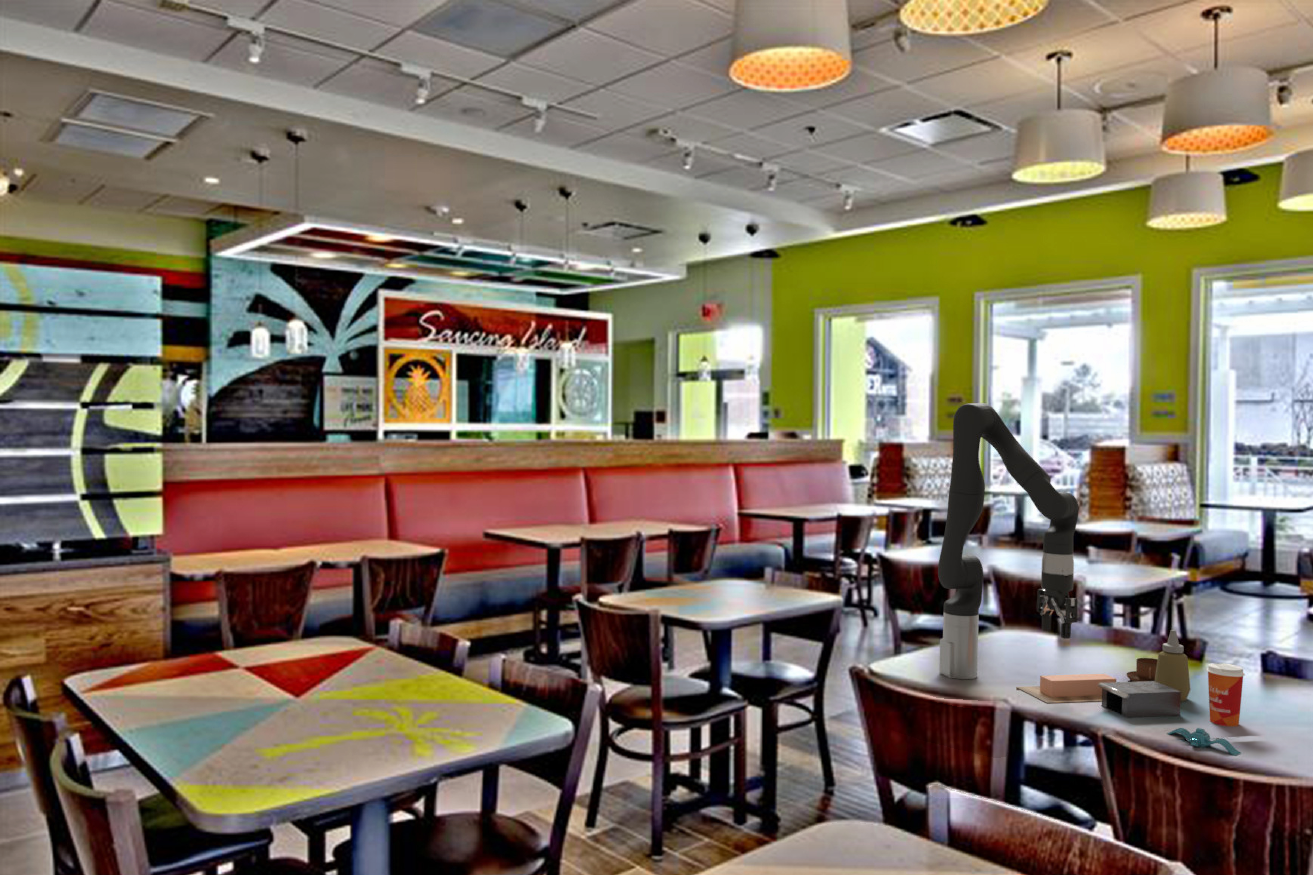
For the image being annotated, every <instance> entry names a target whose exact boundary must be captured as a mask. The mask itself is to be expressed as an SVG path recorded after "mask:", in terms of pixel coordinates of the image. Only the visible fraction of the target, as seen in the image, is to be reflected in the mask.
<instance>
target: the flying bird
mask: <svg viewBox="0 0 1313 875" xmlns="http://www.w3.org/2000/svg"><path fill="white" fill-rule="evenodd" d="M1175 733H1176V734H1177V733H1178V734H1180V735H1181V736H1183V737H1184V738H1185V739H1186V740H1187V741H1188V742H1189V743H1190V746H1195V747H1199V748H1204V749H1205V748H1207V747H1209V746H1211V745H1214V744H1219V745H1221V746H1222V747H1224V748H1225V750H1227V752H1229V754H1230V755H1231V756H1239V755H1240V754H1242V752H1241V751H1239V750H1238V749H1237V748H1235V746H1234V745H1233V744H1232V743H1231V742H1230V741H1228V740H1227V739H1225V738H1217V739H1213V740H1211V735H1210V734H1209V733H1208V732H1207V731H1206V730H1205V728H1200V727H1197V728H1196V729H1195V731H1193V732H1190V731H1189V730H1188V729H1186V728H1184V727H1178V728H1176V729H1173V730H1172V731H1169V732H1167V733H1166V735H1169V736H1171V735H1173V734H1175Z"/></svg>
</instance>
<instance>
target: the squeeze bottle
mask: <svg viewBox="0 0 1313 875" xmlns="http://www.w3.org/2000/svg"><path fill="white" fill-rule="evenodd" d="M1184 648H1185V647H1184V645H1182V644H1180V642H1179V639H1178V634H1177V630H1175V629H1171V630H1170V632H1169V636H1168V639H1167V642H1165V643H1162V651H1160V652H1159V653H1157V654H1158V656H1157V659H1158V661H1157V668H1156V675H1155V682H1157V683H1160V684H1162V685H1165V686H1167V687H1170V688H1173V689H1175V690H1178V691H1180V692H1181V700H1180V702H1185V701H1187V699H1188V697H1189V694H1190V692H1191V683H1190V682H1191V681H1190V680H1191V679H1190V672H1189V671H1190V670H1189V659H1188V656H1187V655H1186V654H1185V653H1184Z"/></svg>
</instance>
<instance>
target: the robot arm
mask: <svg viewBox="0 0 1313 875" xmlns="http://www.w3.org/2000/svg"><path fill="white" fill-rule="evenodd" d="M952 431H953V432H952V433H953V434H952V439H953V440H952V441H953V442H952V445H953V448H952V452H953V453H952V462H951V474H950V481H949V482H950V484H949V488H948V498H947V500H948V501H947V512H946V520H945V527H944V528H945V529H944V536H943V541H942V545H941V550H940V553H939V558H938V566H937V575H938V576H937V577H938V580H939V583H940V585H941V586H942V587H943V588H944V589H947V590H956V592H955V594H954V595H953V596H952V597H950V598H949V599H947V600H945V601H944V603H943V624H942V625H943V628H942V638H940V639H939V673H940V674H941V675H943V676H946V677H947V678H948V679H959V680H960V679H961V680H971V679H976V678H977V677H978V670H979V669H978V667H979V666H978V665H979V664H978V663H979V661H978V660H979V658H978V655H979V653H978V652H979V620H980V619H979V615H980V614H979V613H980V607H981V605H982V602H983V601H982V597H983V588H984V587H983V586H984V569H983V564H982V562H981V560H980V559H979V557H977V556H976V555H973V554H963V552H964V546H965V543H966V540H967V538H968V535H969V534H970V532H971V531H972V529H973V528H974V527H975V525H976V523H977V522H978V520H979V519H980V517H981V515H982V513H983V510H984V502H985V494H986V484H985V480H984V476H983V472H982V468H981V464H980V459H979V457H980V456H979V455H980V454H979V453H980V445H981V444H980V443H981V438H982V439H983V440H984V441H986V442H987V443H988V444H989V445H991V446H992V447H993V448H994V450H996V452H997V454H998V455H999V457H1000V458H1001V461H1002V463H1003V465H1004V467H1005V470H1007V472H1008V473H1009V475H1010V476H1011V477H1012V478H1013V479H1014V480H1015V482H1017V484H1018V485H1019V486H1020V487H1021V488H1022V489H1023V490H1024V491H1025V492H1026V493H1027V494H1028V496H1029V498H1030V500H1031V501H1032V503H1033V505H1034V506H1035V508H1036V509H1037V510H1038V511H1039V513H1040V514H1041V515H1042V516H1044V517H1045V518H1046V519H1048V520H1049V527H1048V528H1047V529H1046V530H1045V532H1044V534H1043V546H1042V547H1043V548H1042V550H1043V551H1042V558H1041V580H1040V582H1041V583H1040V587H1041V588H1039V589H1037V593H1036V594H1037V595H1036V608H1035V609H1036V612H1037V613H1038V612H1039V614H1040V616H1041V630H1042V631H1043V632H1050V631H1051V630H1052V614H1053V612H1055V613H1056V615H1057V616H1058V617H1059V618H1060V621H1061V623H1060V638H1061V639H1063V640H1064V639H1070V638H1071V634H1072V624H1073V623H1078V599H1077V598H1076V597H1075V598H1074V597H1070V595H1069V594H1070V592H1072V591H1073V590H1074V574H1075V571H1074V570H1075V568H1074V567H1075V562H1074V536H1075V532H1076V528H1077V522H1078V518H1079V513H1080V512H1079V503H1078V499H1077V498H1076V497H1075V495H1073V494H1072V493H1071V492H1067V491H1058V490H1056V488H1055V487H1054V486H1053V485H1052V484H1051V482H1052V480H1051V476H1050V475H1049V474H1048V472H1046V470H1045V469H1044V468H1043V467H1042V466H1041V465H1040V464H1039V463H1038V462H1037V461H1036V460H1035V459H1034V458H1033V457H1032V456H1031V455H1030V453H1028V451H1026V450H1025V449H1024V447H1023V446H1022V445H1021V444H1020V442H1019V441H1018V440H1017V439H1016V437H1015V436H1014V435H1013V433H1012V432H1011V431H1010V430H1009V428H1008V426H1007V425H1006V424H1005V422H1004V421H1003V419H1002V417H1001V416H1000V415H999V413H998V412H997V410H995V408H994V407H993V406H991V405H990V404H988V403H984V402H975V403H971V402H970V403H965V404H962V405H960V406H959V407H958V408H957V409H956V411H955V413H954V417H953V424H952Z"/></svg>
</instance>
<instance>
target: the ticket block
mask: <svg viewBox="0 0 1313 875" xmlns="http://www.w3.org/2000/svg"><path fill="white" fill-rule="evenodd" d="M1039 677H1040V678H1039V680H1040V681H1039V686H1040V692H1042V693H1044V694H1046V695H1048V696H1050V697H1062V696H1089V695H1102V688H1100V687H1099V686H1098V684H1099V683H1111V682H1117V678H1115V677H1113V676H1111V675H1108V674H1105V673H1087V674H1085V673H1084V674H1083V673H1082V674H1058V675H1057V674H1054V675H1039Z"/></svg>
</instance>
